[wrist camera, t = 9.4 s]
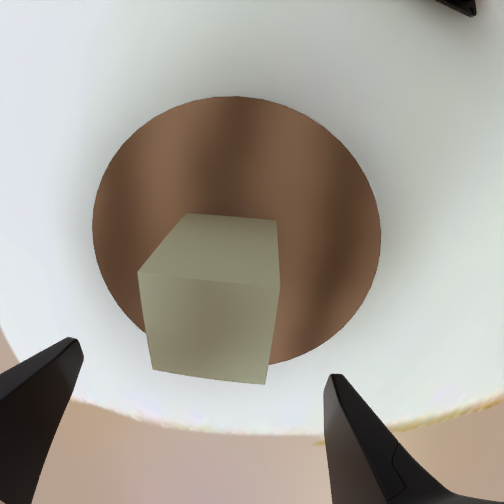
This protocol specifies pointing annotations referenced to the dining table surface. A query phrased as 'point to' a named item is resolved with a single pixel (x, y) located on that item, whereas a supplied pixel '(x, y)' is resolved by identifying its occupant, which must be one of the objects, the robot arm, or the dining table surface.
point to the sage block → (212, 298)
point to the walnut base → (245, 207)
